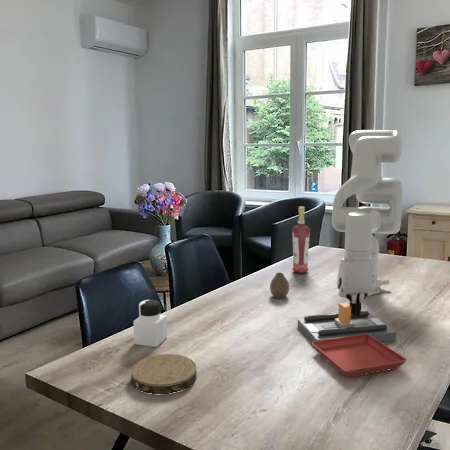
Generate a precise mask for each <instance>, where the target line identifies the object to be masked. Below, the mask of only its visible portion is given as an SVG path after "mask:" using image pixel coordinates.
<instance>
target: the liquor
mask: <svg viewBox="0 0 450 450" xmlns="http://www.w3.org/2000/svg"><path fill="white" fill-rule="evenodd" d="M297 208H298V209H297V211H298V218H297V224H296V225H294V226H293V227H292V228H291V229H292V230H291V231H292V232H291V233H292V234H291V235H292V265H293V267H292V268H291V270H292V271H293V272H295V274H303V275H304V274H305V273H307V272H308V271H309V268H308V266H309V265H308V262H309V261H308V260H309V249H310V247H309V246H310V232H311V228H310V227H309V226H308V225H306V224H305V223H306V221H305V210H306V207H305V206H298V207H297Z"/></svg>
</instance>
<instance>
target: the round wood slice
mask: <svg viewBox="0 0 450 450" xmlns="http://www.w3.org/2000/svg"><path fill="white" fill-rule="evenodd" d="M130 375H131V385H132V384H133V385H132V386H133V387H135V388H137V389H138V390H140V391H143V392H146V393H152V394H169V393H173V392H177V391H181V390H184V389H186V388H188V389H190V388H191V387H192V386H193V385H194V384H196V380H197V377H198V376H197V364H196V362H195V361H194V360H193V359H191V358H189V357H187V356H183V355H179V354H172V353H165V354H154V355H152V356H148V357H144V358H143V359H140V360H139V361H137V362H135V363H134V365H133V366H132V368H131V372H130ZM191 385H192V386H191ZM190 386H191V387H190ZM189 387H190V388H189ZM135 388H134V389H135ZM137 389H136V390H137ZM138 390H137V391H138ZM186 390H187V389H186ZM140 391H139V392H140ZM184 391H185V390H184ZM146 393H145V394H146Z"/></svg>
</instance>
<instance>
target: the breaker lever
mask: <svg viewBox="0 0 450 450" xmlns="http://www.w3.org/2000/svg"><path fill="white" fill-rule="evenodd" d="M338 313H339V317H338V318H335V323H336V324H337V325H338V326H339V327H340V328H349V327H354V323H353V322H352V321H351V307H350V304H348V303H346V302H338Z"/></svg>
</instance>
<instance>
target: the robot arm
mask: <svg viewBox="0 0 450 450" xmlns="http://www.w3.org/2000/svg"><path fill="white" fill-rule="evenodd" d="M348 144H349V147H350V151H351V153H352V162H351V163H352V164H351V170H350V171H351V173H350V178H349V179H348V180H347V181H345V182H344V183H343V184H342V185H341V186H340V187H339V189H338V190H337V192H336V194H335V195H334V198H333V204H332V211H331V213H332V214H331V225H332V228H333V229H334V230H335V231H336V232H341V233H344V255H343V256H344V257H342V258H341V259H340V263H339V267H338V271H337V272H338V273H337V282H336V286H337V290H338V296H339V297H340V298H343V299H347V300H348V301H349V306H350V307H351V314H352V315H353V316H360V312H361V311H362V304H363V303H364V300H365V299H366V298H367V297H368V296H373V295H377V294H380V293H381V292H382V285H383V286H384V285H385V286H388V285H390V280H389V279H383V278H379V277H378V273H379V248H380V246H379V242H378V240H377V239H376V237H375V236H374V235H373V234H381V235H382V234H383V235H395V234H398V233H399V231H400V229H401V226H402V212H403V211H402V210H403V209H402V208H403V185H402V182H401V180H400V179H398V178H396V177H382V163H383V164H384V163H386V164H387V163H388V164H389V163H391V164H393V163H394V164H395V163H397V162H398V161H399V160H400V158H401V156H402V155H401V154H402V150H403V136H402V134H401V132H400V131H399V130H397V129H393V130H392V129H362V130H361V129H360V130H355V131H353V132H351V133H350V134H349V137H348ZM353 195H355V197H356V200H357V201H358V202H359V203H362V204H367V205H368V204H369V205H385V206H387V207H383V206H382V207H378V206H359V207H353V206H352V207H351V206H350V207H348V206H344V202H346V200H347V199H349V198H350V197H351V196H353Z"/></svg>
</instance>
